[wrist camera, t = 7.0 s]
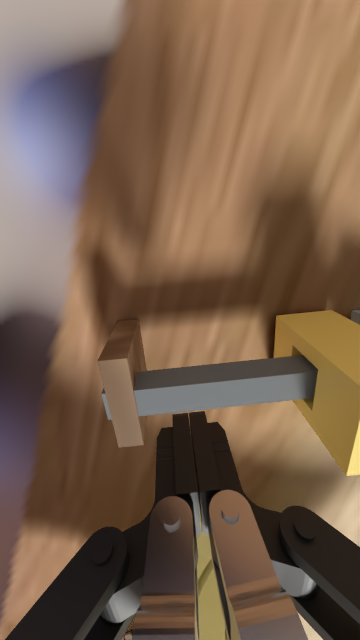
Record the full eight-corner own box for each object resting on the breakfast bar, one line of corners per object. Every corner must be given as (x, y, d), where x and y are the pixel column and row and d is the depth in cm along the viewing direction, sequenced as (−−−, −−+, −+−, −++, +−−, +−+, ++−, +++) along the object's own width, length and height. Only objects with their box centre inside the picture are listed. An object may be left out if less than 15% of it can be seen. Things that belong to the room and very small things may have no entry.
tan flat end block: (138, 318, 18) (126, 358, 12) (149, 387, 20) (143, 444, 15) (117, 320, 18) (97, 361, 12) (130, 389, 20) (118, 447, 15)
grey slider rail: (428, 342, 15) (460, 356, 14) (420, 366, 16) (450, 383, 14) (108, 374, 15) (101, 394, 13) (114, 398, 16) (107, 419, 14)
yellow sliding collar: (331, 310, 18) (465, 381, 10) (322, 367, 19) (430, 466, 11) (276, 315, 18) (366, 391, 10) (272, 372, 19) (346, 475, 11)
